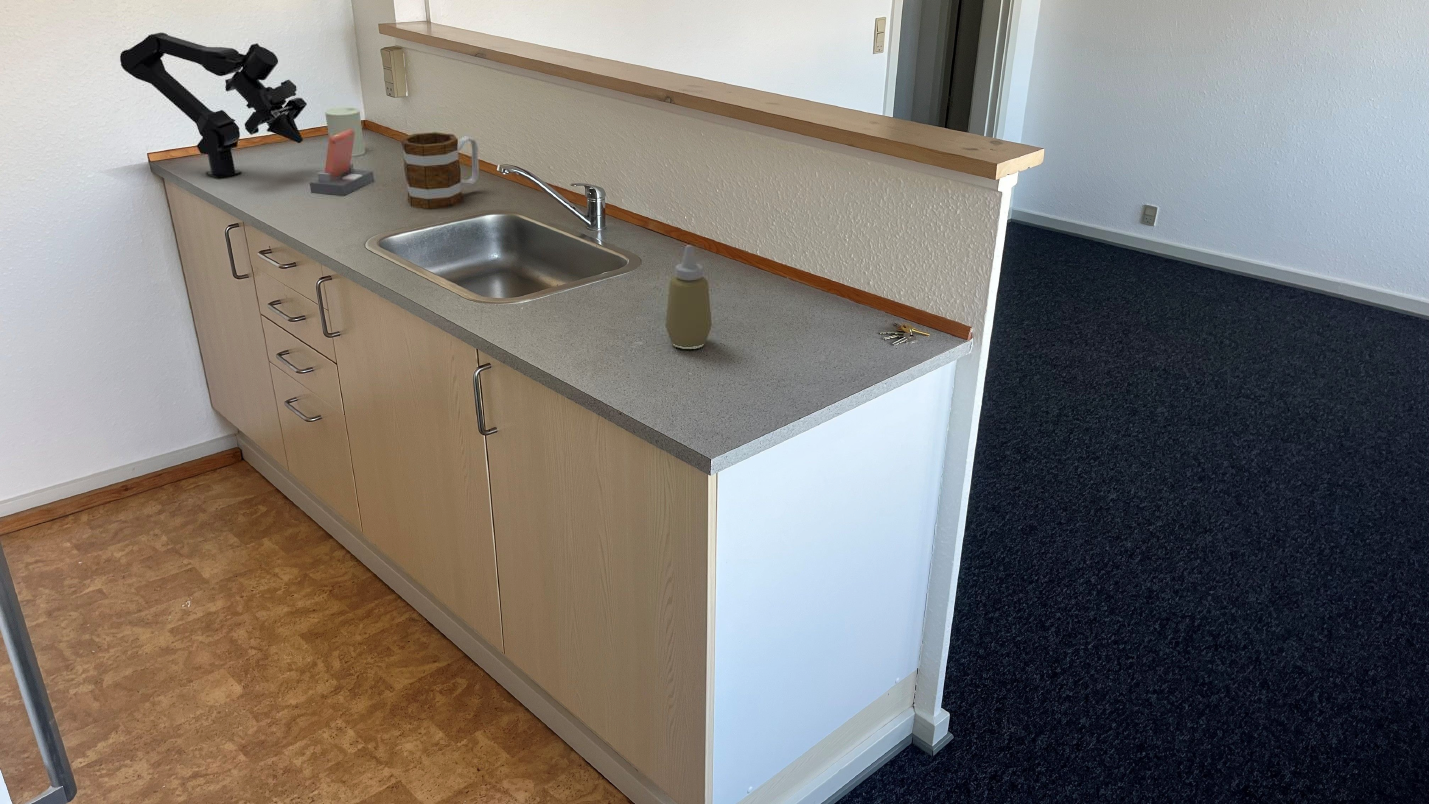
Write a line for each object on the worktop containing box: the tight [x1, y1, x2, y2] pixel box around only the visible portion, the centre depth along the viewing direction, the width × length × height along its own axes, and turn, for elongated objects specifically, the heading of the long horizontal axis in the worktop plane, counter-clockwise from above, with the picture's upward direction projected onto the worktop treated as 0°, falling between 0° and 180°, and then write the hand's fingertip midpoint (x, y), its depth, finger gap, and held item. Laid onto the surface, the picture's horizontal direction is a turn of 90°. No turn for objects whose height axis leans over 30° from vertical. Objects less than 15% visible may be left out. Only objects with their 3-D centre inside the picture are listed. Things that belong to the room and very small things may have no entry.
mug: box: [400, 131, 480, 210], centre depth 254 cm, size 20×14×15 cm
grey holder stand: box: [309, 162, 375, 197], centre depth 264 cm, size 9×14×4 cm, turn 165°
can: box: [324, 107, 366, 158], centre depth 291 cm, size 9×9×12 cm
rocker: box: [324, 129, 355, 179], centre depth 261 cm, size 2×8×11 cm, turn 166°
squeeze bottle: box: [664, 244, 713, 347], centre depth 181 cm, size 8×8×18 cm
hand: (301, 141), depth 262 cm, fingers closed
